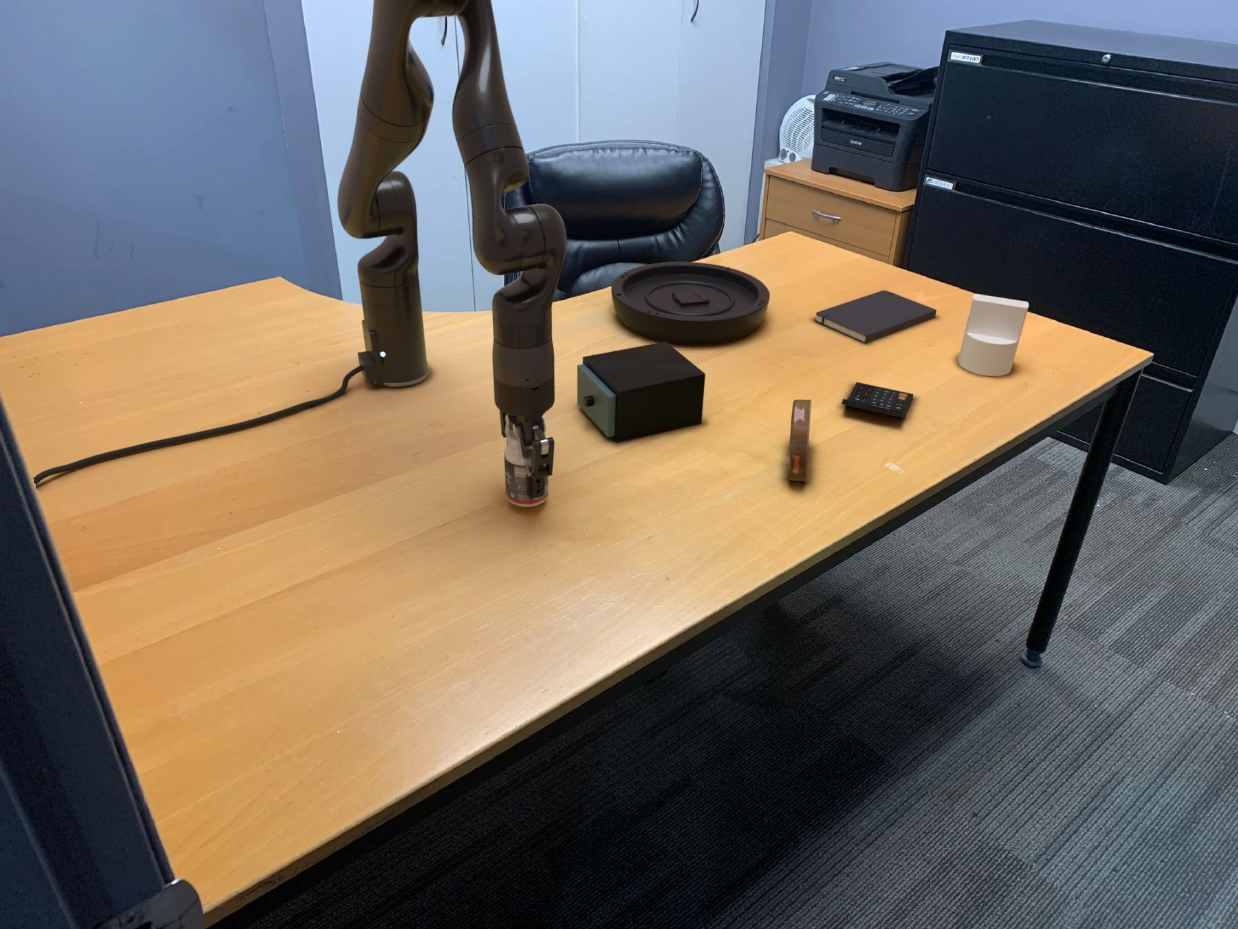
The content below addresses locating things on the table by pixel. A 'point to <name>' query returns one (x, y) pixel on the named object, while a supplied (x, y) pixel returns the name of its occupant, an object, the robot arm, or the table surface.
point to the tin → (799, 440)
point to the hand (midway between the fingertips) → (527, 483)
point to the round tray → (689, 302)
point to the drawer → (596, 399)
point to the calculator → (879, 399)
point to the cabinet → (650, 389)
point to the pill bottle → (518, 475)
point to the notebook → (874, 315)
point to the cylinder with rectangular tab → (992, 335)
